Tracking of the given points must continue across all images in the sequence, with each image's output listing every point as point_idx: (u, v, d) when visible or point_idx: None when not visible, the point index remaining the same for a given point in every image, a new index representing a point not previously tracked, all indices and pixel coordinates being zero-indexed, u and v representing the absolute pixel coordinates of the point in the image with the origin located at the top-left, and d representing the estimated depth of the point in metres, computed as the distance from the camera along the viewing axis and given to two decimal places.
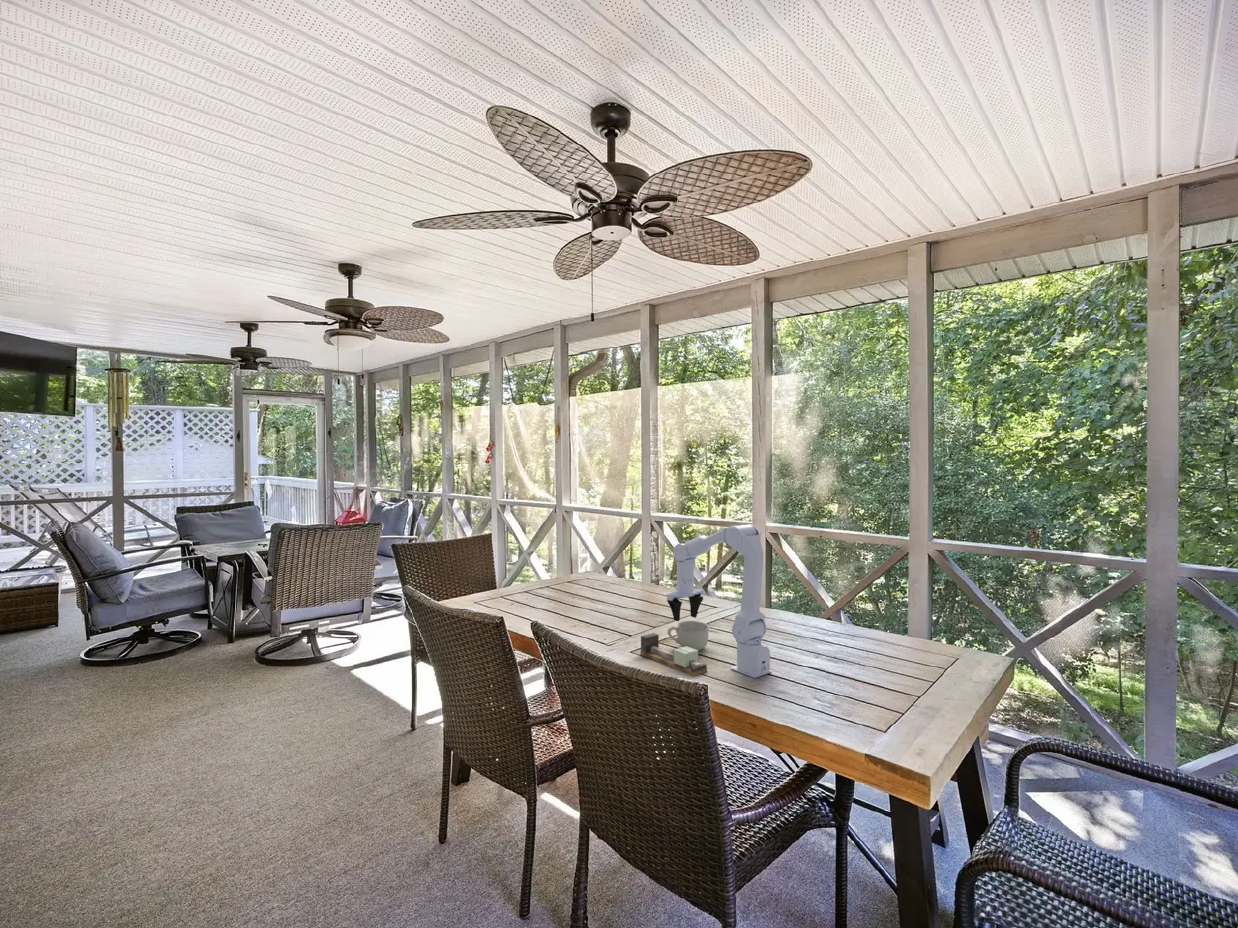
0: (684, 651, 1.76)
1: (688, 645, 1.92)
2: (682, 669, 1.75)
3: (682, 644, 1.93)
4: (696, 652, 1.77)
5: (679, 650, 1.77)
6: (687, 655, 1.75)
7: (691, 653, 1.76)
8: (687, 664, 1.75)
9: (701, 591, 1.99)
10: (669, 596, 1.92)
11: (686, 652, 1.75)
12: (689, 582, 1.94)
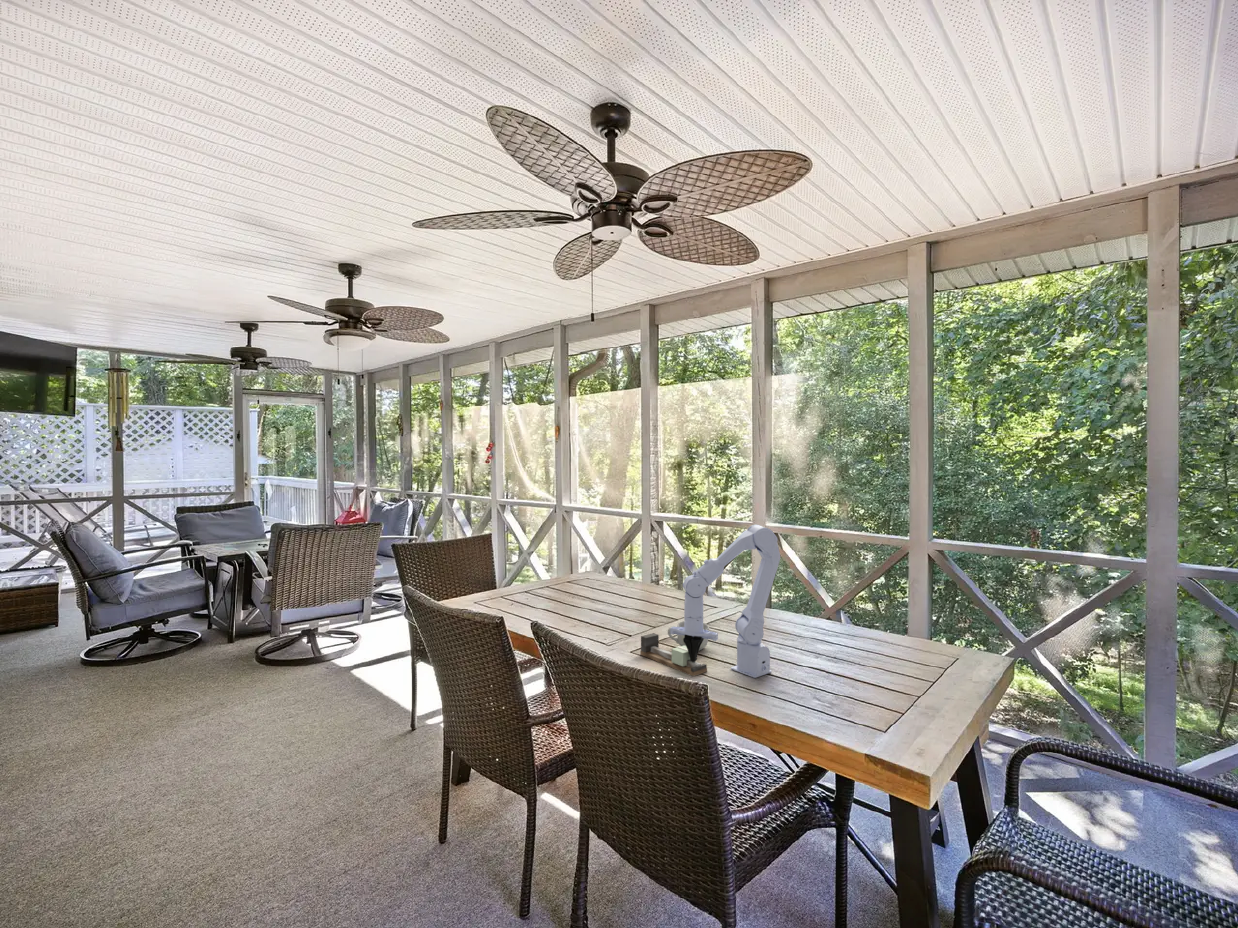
0: (682, 650, 1.77)
1: None
2: (682, 669, 1.75)
3: (682, 644, 1.93)
4: None
5: (677, 649, 1.78)
6: (685, 654, 1.75)
7: None
8: (685, 663, 1.75)
9: (713, 636, 1.71)
10: None
11: (684, 651, 1.76)
12: (689, 620, 1.73)
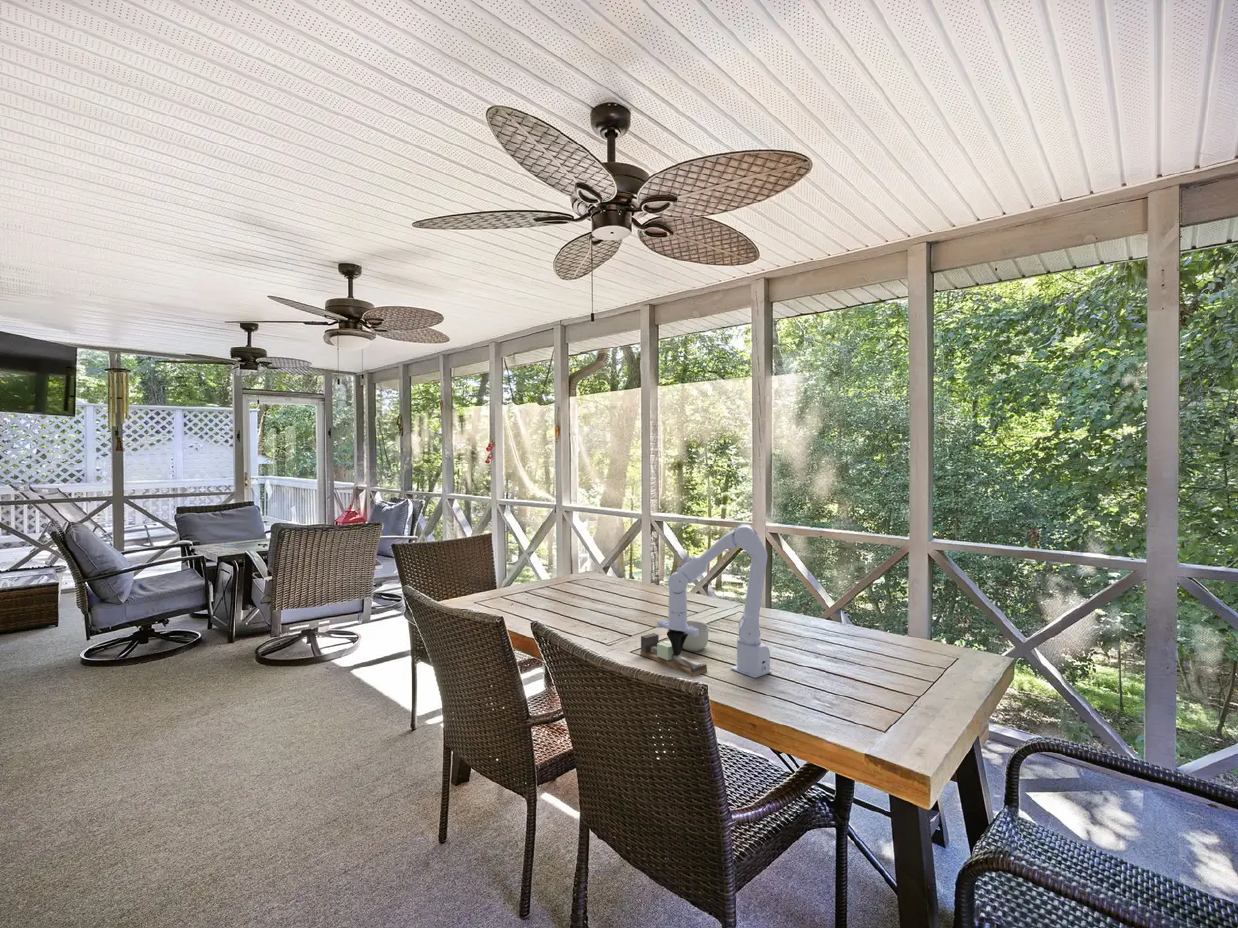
0: (667, 645, 1.82)
1: (688, 645, 1.92)
2: (682, 669, 1.75)
3: None
4: None
5: (662, 644, 1.83)
6: (669, 648, 1.81)
7: None
8: (669, 657, 1.81)
9: (692, 631, 1.75)
10: None
11: (669, 646, 1.81)
12: (671, 614, 1.79)
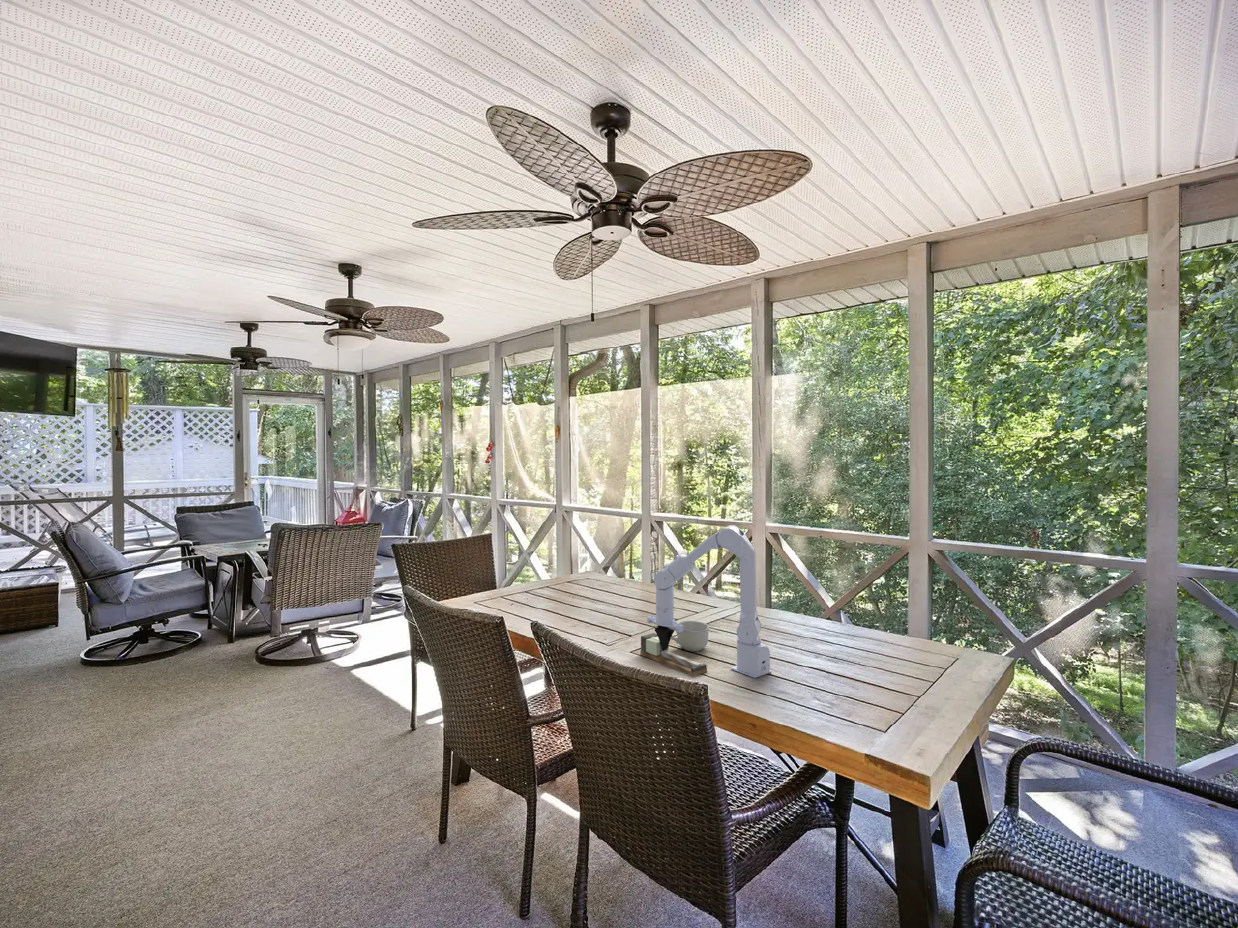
0: (655, 640, 1.86)
1: (688, 645, 1.92)
2: (682, 669, 1.75)
3: (682, 644, 1.93)
4: None
5: (651, 639, 1.87)
6: (658, 644, 1.85)
7: None
8: (658, 652, 1.85)
9: (676, 627, 1.79)
10: None
11: (657, 641, 1.86)
12: (657, 610, 1.84)
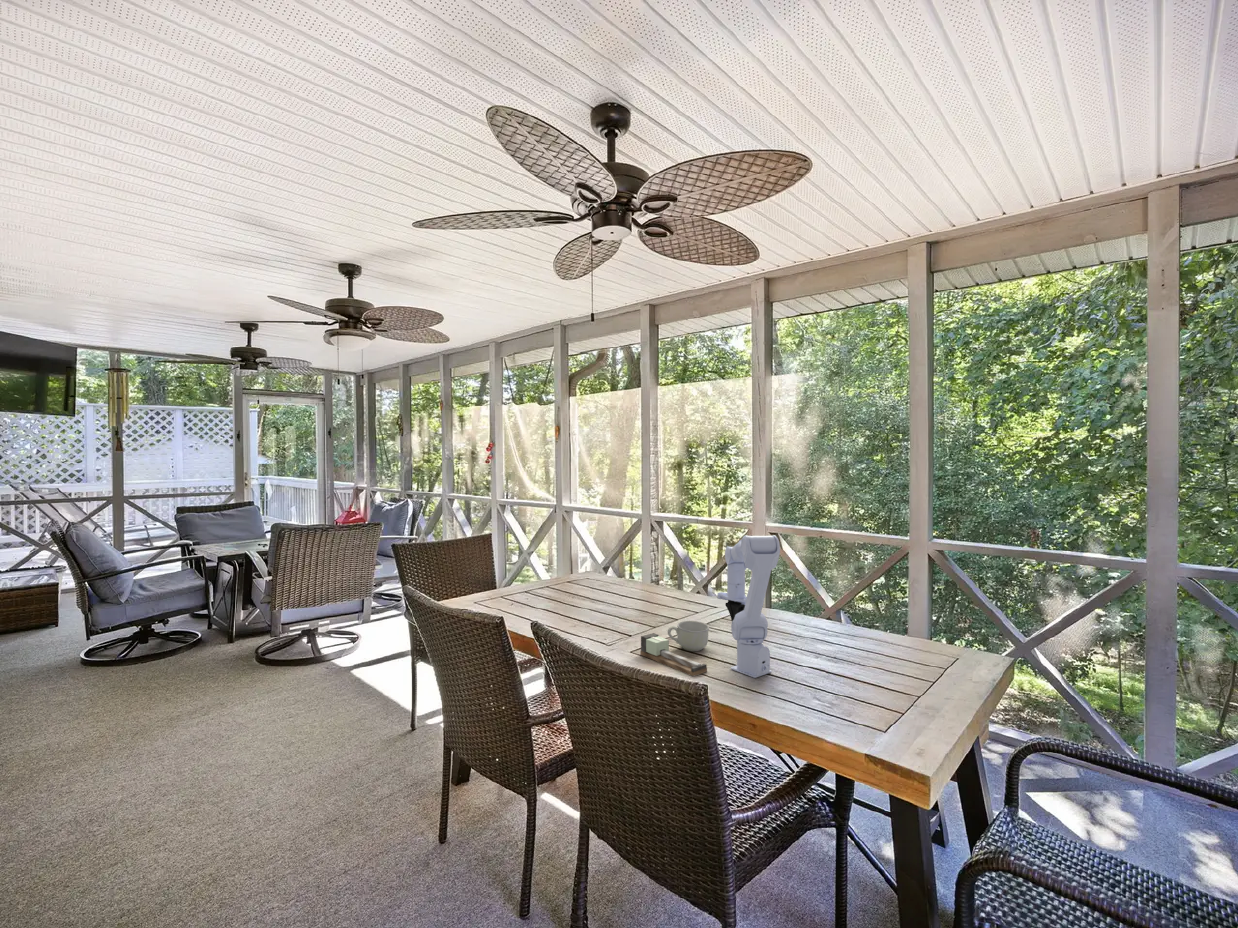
0: (655, 640, 1.86)
1: (688, 645, 1.92)
2: (682, 669, 1.75)
3: (682, 644, 1.93)
4: (667, 641, 1.87)
5: (651, 639, 1.87)
6: (658, 644, 1.85)
7: (662, 642, 1.86)
8: (658, 653, 1.85)
9: None
10: None
11: (657, 641, 1.86)
12: (729, 586, 1.89)
